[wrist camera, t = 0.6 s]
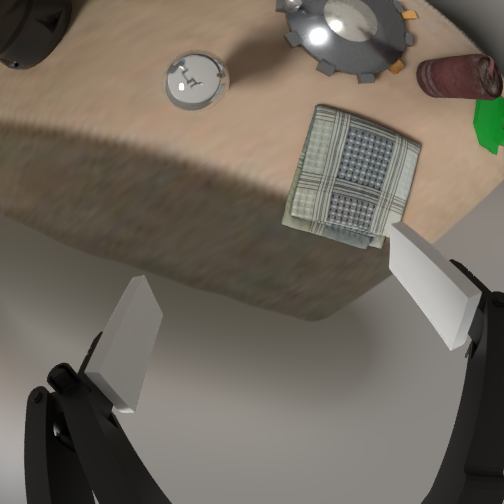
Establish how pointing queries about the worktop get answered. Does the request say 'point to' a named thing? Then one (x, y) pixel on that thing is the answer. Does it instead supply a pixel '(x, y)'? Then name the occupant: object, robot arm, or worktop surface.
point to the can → (461, 77)
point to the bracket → (490, 123)
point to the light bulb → (195, 80)
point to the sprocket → (348, 34)
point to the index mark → (408, 15)
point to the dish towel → (350, 179)
